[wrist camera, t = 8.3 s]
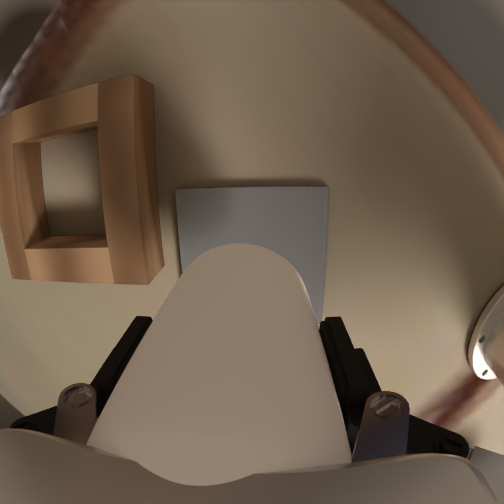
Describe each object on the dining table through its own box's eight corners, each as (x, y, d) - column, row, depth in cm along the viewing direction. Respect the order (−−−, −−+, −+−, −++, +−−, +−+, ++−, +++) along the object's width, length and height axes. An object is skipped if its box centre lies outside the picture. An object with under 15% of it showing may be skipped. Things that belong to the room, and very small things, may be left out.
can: (179, 348, 16) (107, 553, 5) (176, 234, 14) (0, 443, 3) (297, 359, 16) (322, 576, 5) (316, 246, 14) (434, 497, 3)
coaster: (326, 186, 20) (328, 187, 19) (319, 319, 23) (321, 323, 22) (177, 189, 20) (175, 190, 20) (190, 319, 23) (188, 323, 23)
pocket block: (153, 85, 18) (133, 74, 15) (164, 265, 22) (148, 284, 19) (20, 119, 19) (-7, 119, 15) (36, 264, 23) (12, 278, 19)
